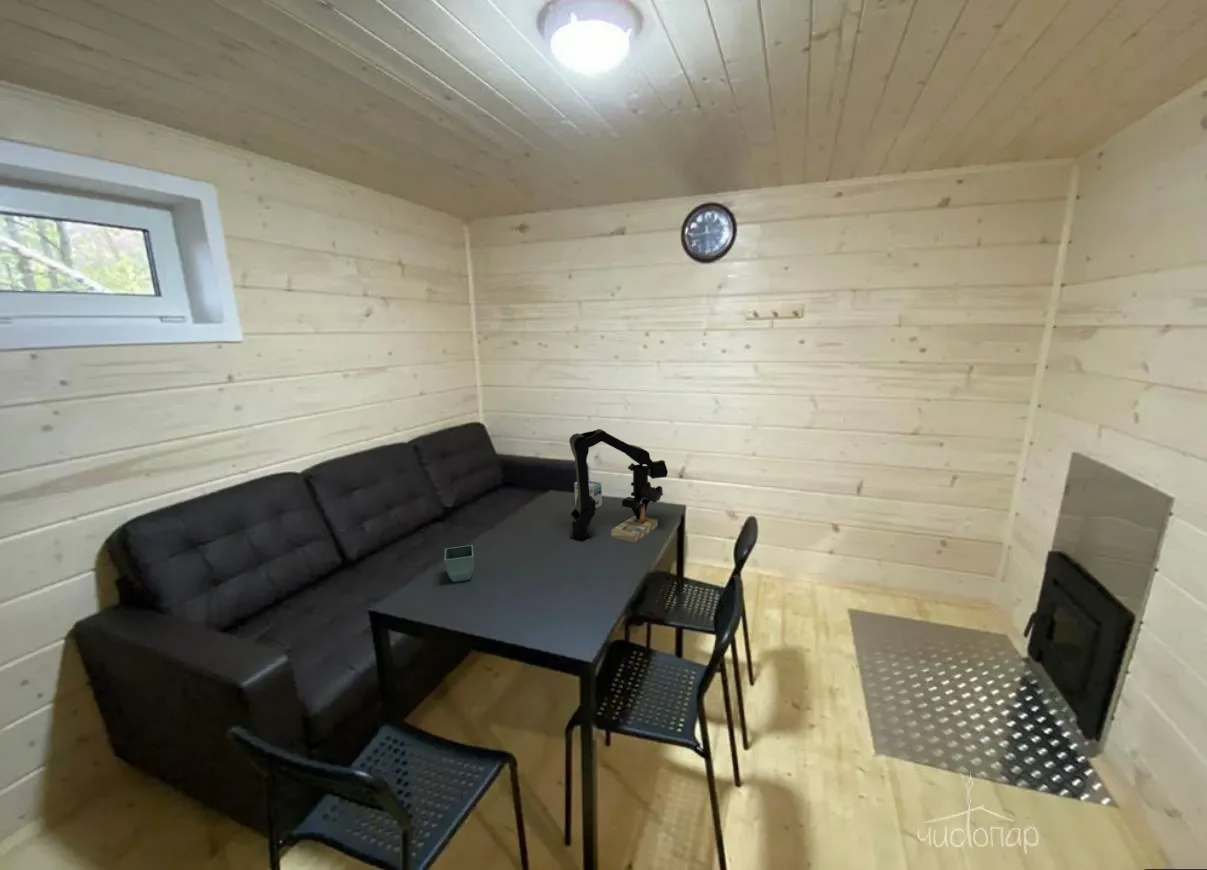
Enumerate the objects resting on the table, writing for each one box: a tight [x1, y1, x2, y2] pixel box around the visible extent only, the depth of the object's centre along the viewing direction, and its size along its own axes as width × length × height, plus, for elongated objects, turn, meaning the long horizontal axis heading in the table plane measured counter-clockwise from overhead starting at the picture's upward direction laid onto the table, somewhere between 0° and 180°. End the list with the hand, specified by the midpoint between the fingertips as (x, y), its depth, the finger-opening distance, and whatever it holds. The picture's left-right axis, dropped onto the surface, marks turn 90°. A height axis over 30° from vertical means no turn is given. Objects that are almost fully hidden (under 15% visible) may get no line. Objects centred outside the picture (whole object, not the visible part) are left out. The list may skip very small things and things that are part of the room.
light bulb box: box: [573, 479, 603, 509], centre depth 226 cm, size 11×7×11 cm, turn 58°
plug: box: [637, 503, 646, 524], centre depth 200 cm, size 3×3×9 cm
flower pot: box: [443, 544, 474, 583], centre depth 163 cm, size 9×9×9 cm
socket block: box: [611, 515, 659, 544], centre depth 197 cm, size 18×10×3 cm, turn 146°
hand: (640, 518), depth 200 cm, fingers closed on plug, 3 cm apart
